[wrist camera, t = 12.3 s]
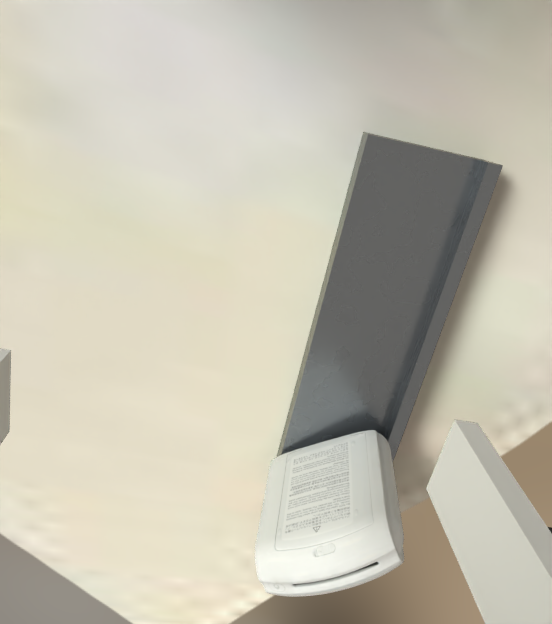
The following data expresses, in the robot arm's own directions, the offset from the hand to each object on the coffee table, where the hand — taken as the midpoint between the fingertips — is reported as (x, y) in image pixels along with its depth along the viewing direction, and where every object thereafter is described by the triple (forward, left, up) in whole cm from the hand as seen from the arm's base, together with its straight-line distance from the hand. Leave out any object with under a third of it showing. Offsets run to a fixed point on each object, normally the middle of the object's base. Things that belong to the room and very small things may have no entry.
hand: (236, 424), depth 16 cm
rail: (+8, +11, -24) cm, 28 cm away
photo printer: (+17, +11, -23) cm, 30 cm away
